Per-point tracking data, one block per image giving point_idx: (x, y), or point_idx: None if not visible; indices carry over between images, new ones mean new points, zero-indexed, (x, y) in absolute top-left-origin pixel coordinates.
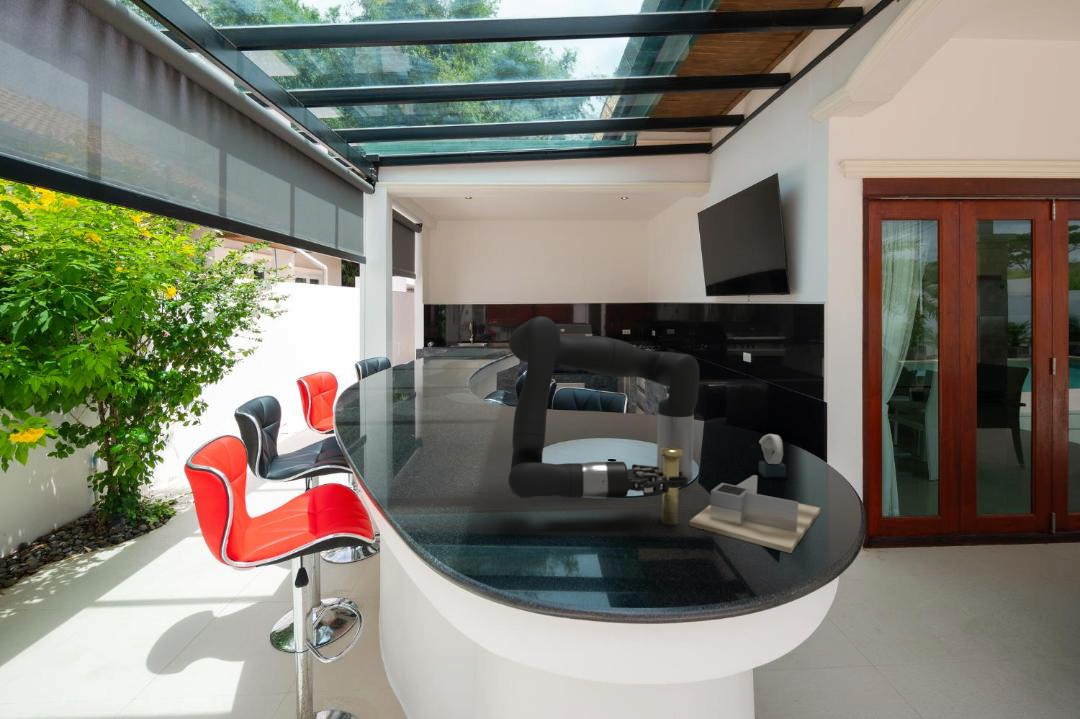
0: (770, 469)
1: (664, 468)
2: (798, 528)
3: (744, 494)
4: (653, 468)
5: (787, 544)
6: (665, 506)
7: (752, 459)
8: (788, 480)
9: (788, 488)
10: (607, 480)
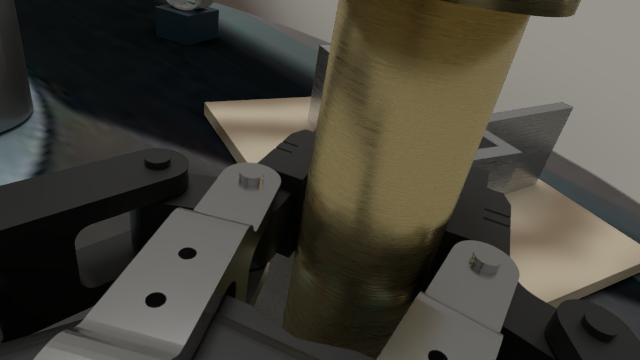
0: (196, 23)
1: (403, 168)
2: None
3: (487, 132)
4: (147, 187)
5: (629, 246)
6: None
7: (94, 8)
8: (234, 43)
9: (267, 62)
10: None
